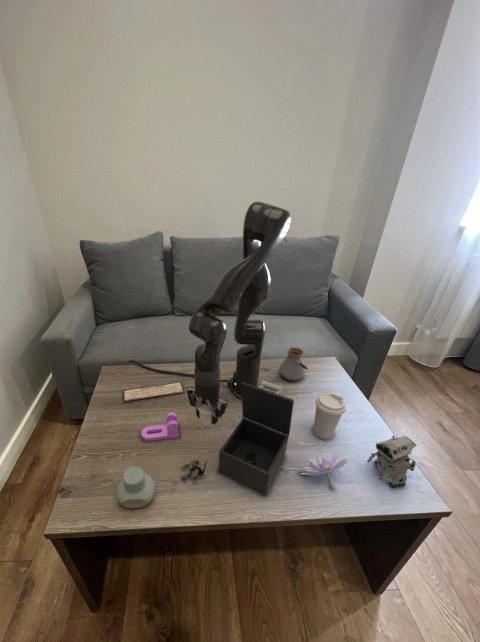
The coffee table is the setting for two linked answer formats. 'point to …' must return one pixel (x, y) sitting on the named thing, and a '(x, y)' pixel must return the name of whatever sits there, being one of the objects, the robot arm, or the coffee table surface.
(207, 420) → the coffee pod
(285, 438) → the open lidded box
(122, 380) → the coffee table surface
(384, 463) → the figurine
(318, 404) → the coffee cup
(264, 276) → the robot arm
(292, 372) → the coffee pot
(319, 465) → the water lily
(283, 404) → the lid
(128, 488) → the air freshener
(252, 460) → the cylinder
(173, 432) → the bracket
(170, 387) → the wooden plank
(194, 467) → the creature
